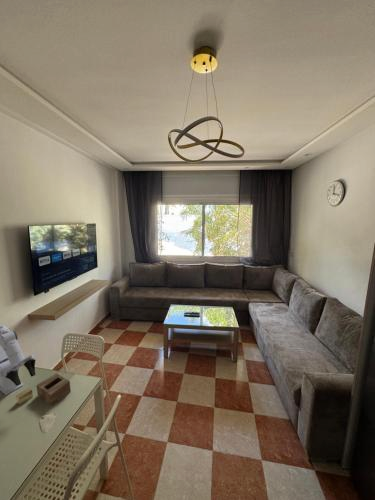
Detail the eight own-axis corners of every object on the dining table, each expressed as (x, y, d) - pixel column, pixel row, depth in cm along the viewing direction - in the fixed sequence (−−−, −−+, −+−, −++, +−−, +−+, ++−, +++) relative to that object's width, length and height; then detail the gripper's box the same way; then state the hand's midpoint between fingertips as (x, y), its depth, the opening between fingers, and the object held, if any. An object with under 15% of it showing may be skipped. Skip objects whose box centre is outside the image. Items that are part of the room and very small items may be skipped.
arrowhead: (57, 408, 105) (55, 428, 97) (57, 411, 106) (56, 432, 97) (39, 415, 102) (37, 436, 94) (40, 418, 103) (37, 439, 94)
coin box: (37, 395, 115) (36, 385, 114) (57, 382, 123) (56, 373, 122) (51, 405, 109) (50, 394, 108) (70, 391, 118) (69, 381, 116)
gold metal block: (16, 403, 110) (15, 395, 110) (30, 394, 116) (29, 387, 115) (19, 405, 109) (18, 398, 109) (32, 396, 114) (31, 389, 114)
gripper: (-6, 365, 106) (5, 392, 104) (23, 348, 108) (34, 374, 105) (6, 361, 113) (17, 386, 111) (32, 345, 115) (44, 369, 112)
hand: (26, 380), depth 108 cm, fingers open, 7 cm apart
